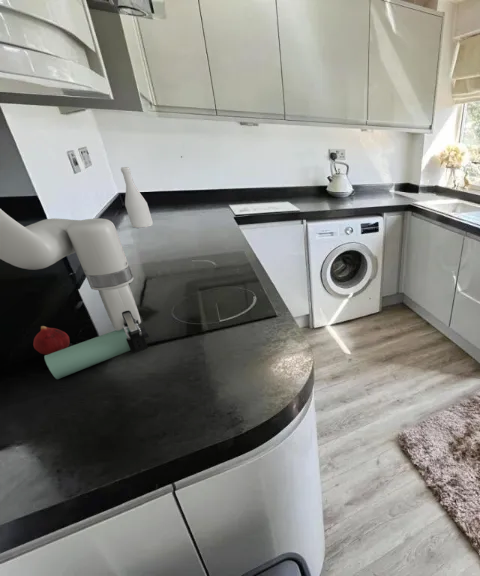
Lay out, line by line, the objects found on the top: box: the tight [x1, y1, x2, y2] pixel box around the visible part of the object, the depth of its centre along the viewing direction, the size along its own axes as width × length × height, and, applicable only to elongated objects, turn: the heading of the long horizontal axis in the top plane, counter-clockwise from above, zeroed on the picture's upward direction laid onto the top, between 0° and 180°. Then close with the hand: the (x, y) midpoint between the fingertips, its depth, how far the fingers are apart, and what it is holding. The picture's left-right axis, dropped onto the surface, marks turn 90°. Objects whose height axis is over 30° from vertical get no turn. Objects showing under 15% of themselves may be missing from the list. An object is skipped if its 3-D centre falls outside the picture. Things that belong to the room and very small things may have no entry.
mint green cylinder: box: [43, 325, 150, 380], centre depth 73 cm, size 17×6×6 cm, turn 136°
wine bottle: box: [120, 166, 154, 229], centre depth 169 cm, size 10×10×30 cm
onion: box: [32, 325, 71, 356], centre depth 74 cm, size 6×6×8 cm
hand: (136, 344), depth 78 cm, fingers closed on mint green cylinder, 5 cm apart
